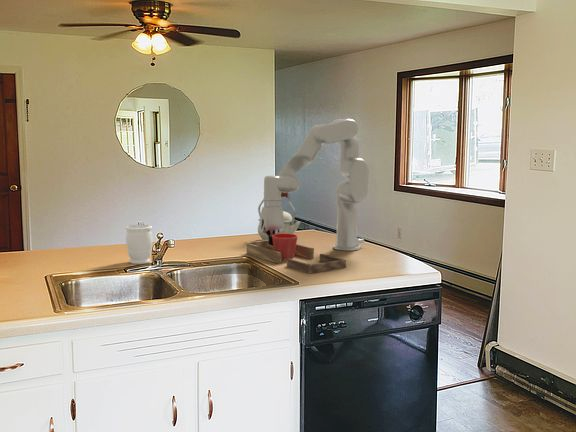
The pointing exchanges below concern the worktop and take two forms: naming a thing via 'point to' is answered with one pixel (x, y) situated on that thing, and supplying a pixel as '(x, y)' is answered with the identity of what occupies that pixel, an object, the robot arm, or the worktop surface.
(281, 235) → the flower pot
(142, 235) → the jar
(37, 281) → the worktop surface
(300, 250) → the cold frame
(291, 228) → the kettle
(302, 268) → the bay
